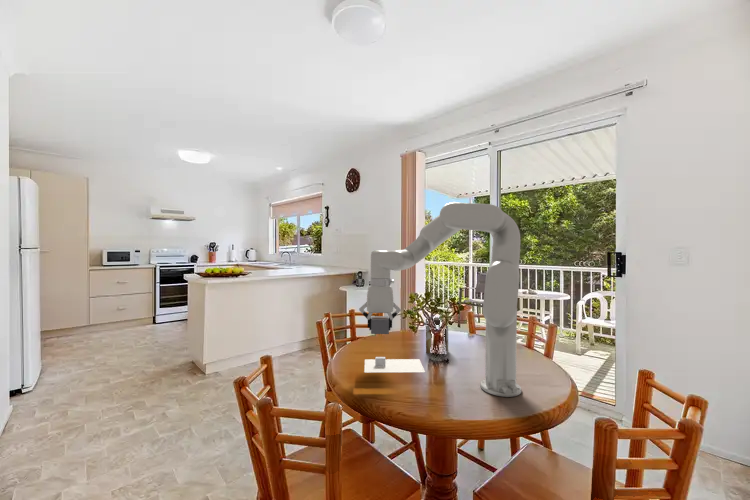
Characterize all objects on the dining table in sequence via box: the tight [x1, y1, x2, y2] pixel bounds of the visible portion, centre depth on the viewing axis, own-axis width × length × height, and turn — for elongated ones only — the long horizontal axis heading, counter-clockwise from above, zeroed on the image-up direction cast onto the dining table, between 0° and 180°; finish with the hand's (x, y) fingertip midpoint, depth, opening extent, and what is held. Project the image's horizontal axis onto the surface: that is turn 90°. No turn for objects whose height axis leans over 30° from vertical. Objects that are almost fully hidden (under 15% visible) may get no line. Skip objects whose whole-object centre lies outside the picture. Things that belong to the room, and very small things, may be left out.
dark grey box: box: [370, 315, 390, 335], centre depth 127 cm, size 7×7×5 cm
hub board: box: [363, 356, 426, 374], centre depth 128 cm, size 14×22×4 cm, turn 91°
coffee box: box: [425, 316, 449, 356], centre depth 144 cm, size 9×6×16 cm
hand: (379, 329), depth 127 cm, fingers closed on dark grey box, 6 cm apart
